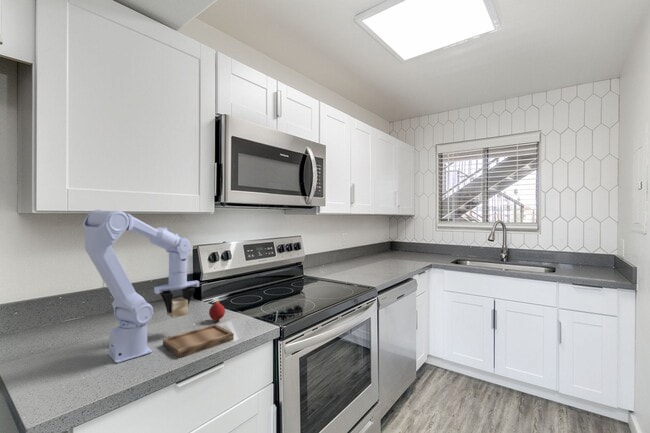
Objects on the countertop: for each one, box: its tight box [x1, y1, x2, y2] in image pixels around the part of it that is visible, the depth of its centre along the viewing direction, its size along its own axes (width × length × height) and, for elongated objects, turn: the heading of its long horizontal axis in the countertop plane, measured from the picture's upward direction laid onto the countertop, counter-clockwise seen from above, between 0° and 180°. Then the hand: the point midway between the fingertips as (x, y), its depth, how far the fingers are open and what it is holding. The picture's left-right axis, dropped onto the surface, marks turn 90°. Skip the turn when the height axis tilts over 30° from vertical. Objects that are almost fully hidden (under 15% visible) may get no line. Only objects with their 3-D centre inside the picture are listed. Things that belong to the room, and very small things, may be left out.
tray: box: [162, 324, 234, 359], centre depth 101 cm, size 18×12×2 cm, turn 138°
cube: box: [166, 296, 189, 319], centre depth 107 cm, size 5×5×5 cm
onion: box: [208, 300, 226, 322], centre depth 121 cm, size 6×6×8 cm
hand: (177, 310), depth 108 cm, fingers closed on cube, 5 cm apart
